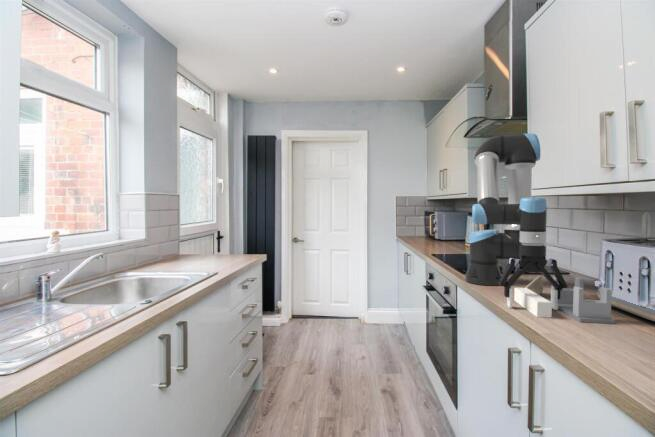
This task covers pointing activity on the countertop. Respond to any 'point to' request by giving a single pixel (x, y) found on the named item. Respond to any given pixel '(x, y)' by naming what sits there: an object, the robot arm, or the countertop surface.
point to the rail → (533, 302)
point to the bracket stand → (585, 304)
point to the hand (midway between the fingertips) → (531, 307)
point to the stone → (536, 285)
